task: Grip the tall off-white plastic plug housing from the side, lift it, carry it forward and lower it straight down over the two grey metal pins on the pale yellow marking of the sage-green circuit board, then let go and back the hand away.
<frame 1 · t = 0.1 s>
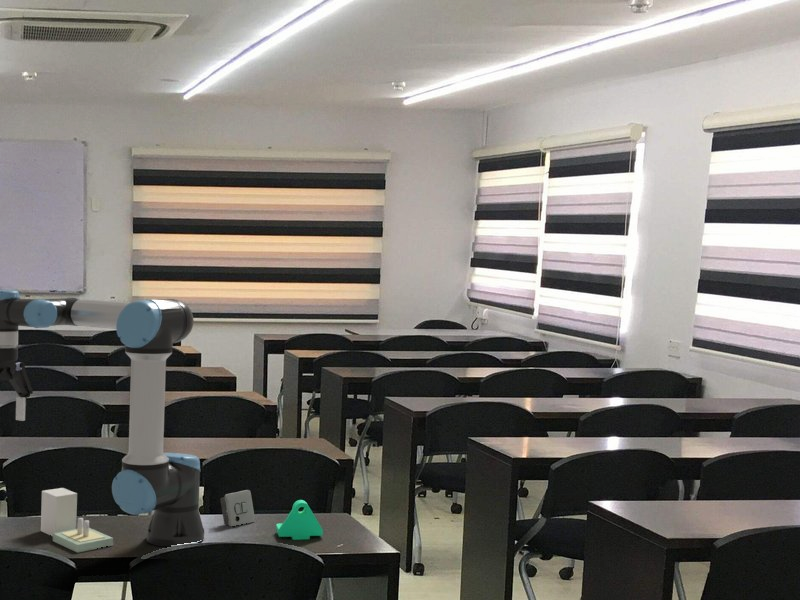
hand: (1, 423, 274), 28 cm above the table, tool pointing down, fingers open, 13 cm apart
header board: (82, 543, 261), on the table
plug housing: (58, 532, 270), on the table
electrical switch: (236, 524, 286), on the table
camera mount: (298, 536, 277), on the table
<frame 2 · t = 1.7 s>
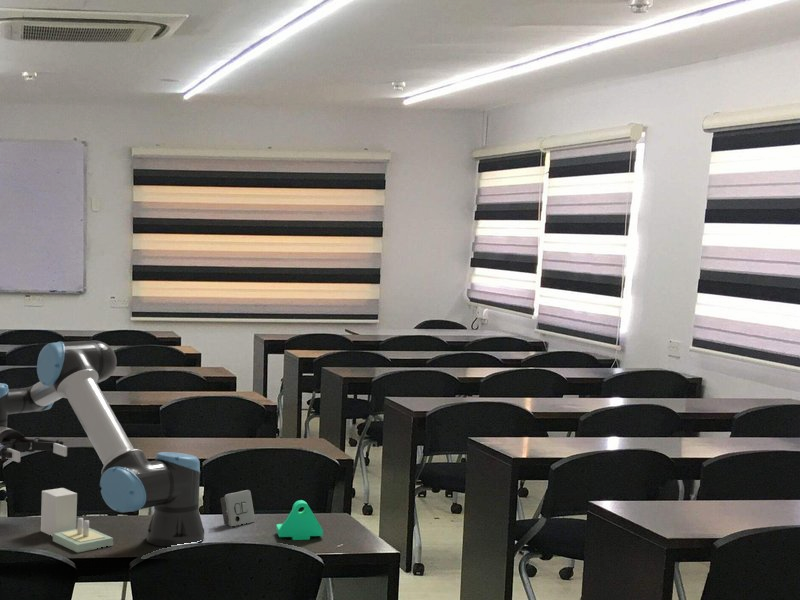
hand: (42, 454, 276), 20 cm above the table, tool horizontal, fingers open, 13 cm apart
nothing on the table moved.
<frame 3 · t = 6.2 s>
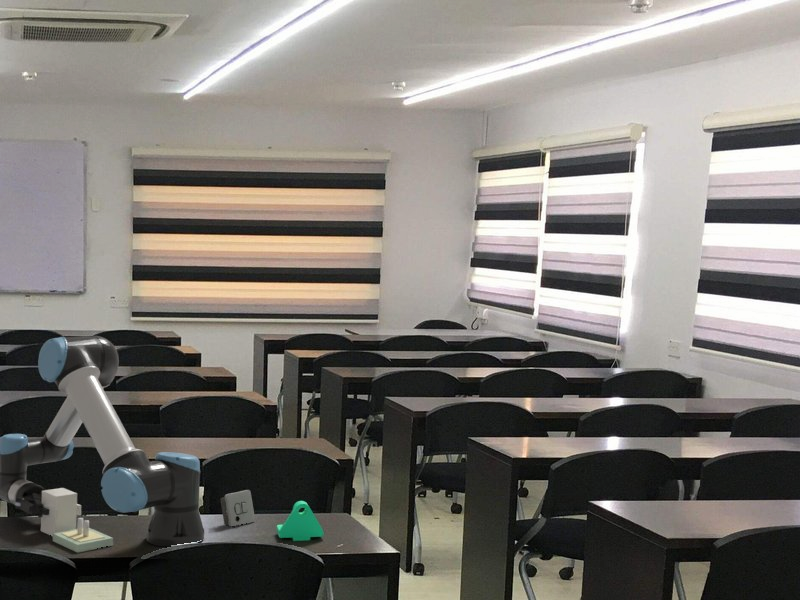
hand: (68, 512, 266), 7 cm above the table, tool horizontal, fingers closed on plug housing, 6 cm apart
plug housing: (58, 532, 270), on the table, touching gripper
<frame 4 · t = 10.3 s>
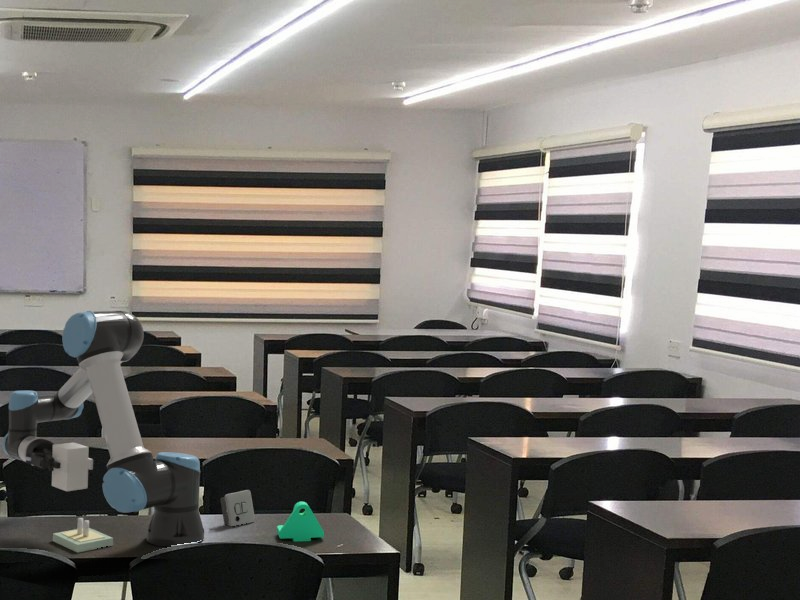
hand: (79, 466, 262), 20 cm above the table, tool horizontal, fingers closed on plug housing, 6 cm apart
plug housing: (69, 487, 265), point 13 cm above the table, touching gripper
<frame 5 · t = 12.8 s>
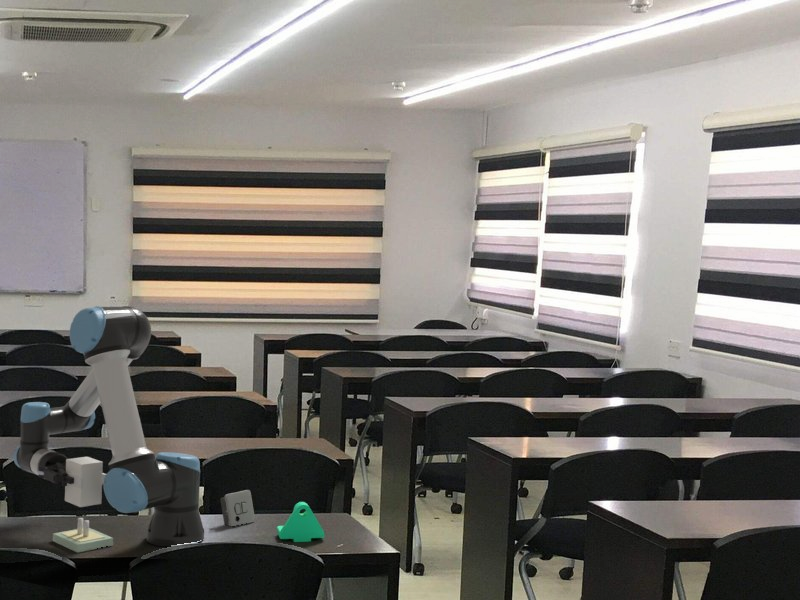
hand: (93, 481, 257), 17 cm above the table, tool horizontal, fingers closed on plug housing, 6 cm apart
plug housing: (83, 502, 261), point 11 cm above the table, touching gripper
when the fingers open (10 cm above the table, at t = 14.7 s): plug housing stays where it is, resting on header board.
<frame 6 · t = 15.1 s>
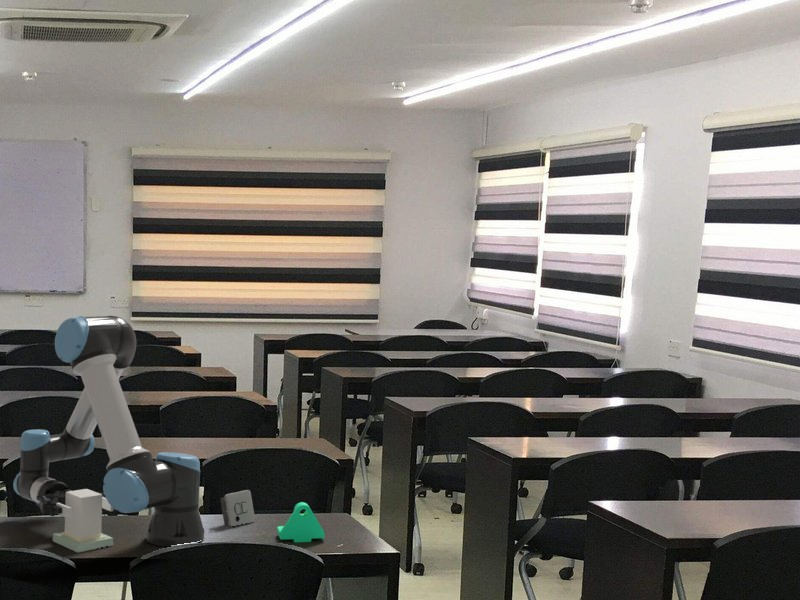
hand: (91, 509, 258), 10 cm above the table, tool horizontal, fingers open, 11 cm apart
plug housing: (82, 534, 261), point 2 cm above the table, touching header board
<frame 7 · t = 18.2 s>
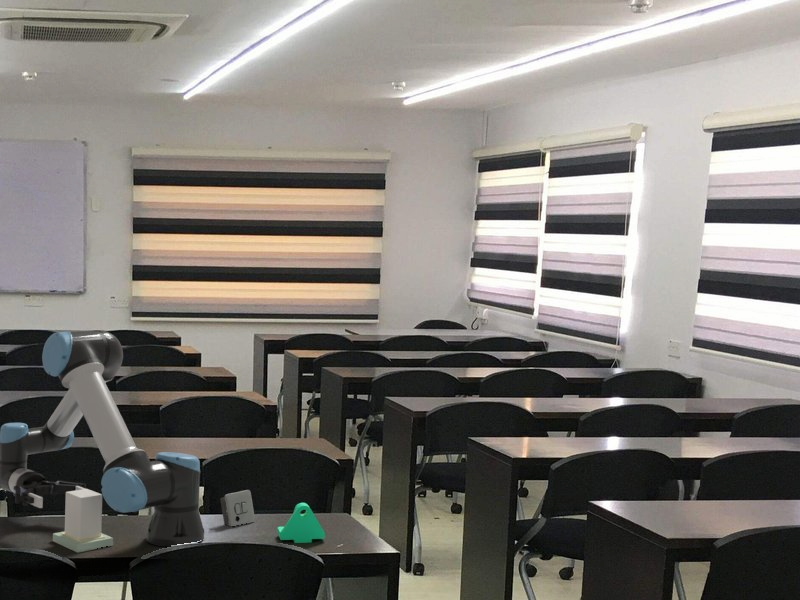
hand: (65, 499, 267), 10 cm above the table, tool horizontal, fingers open, 13 cm apart
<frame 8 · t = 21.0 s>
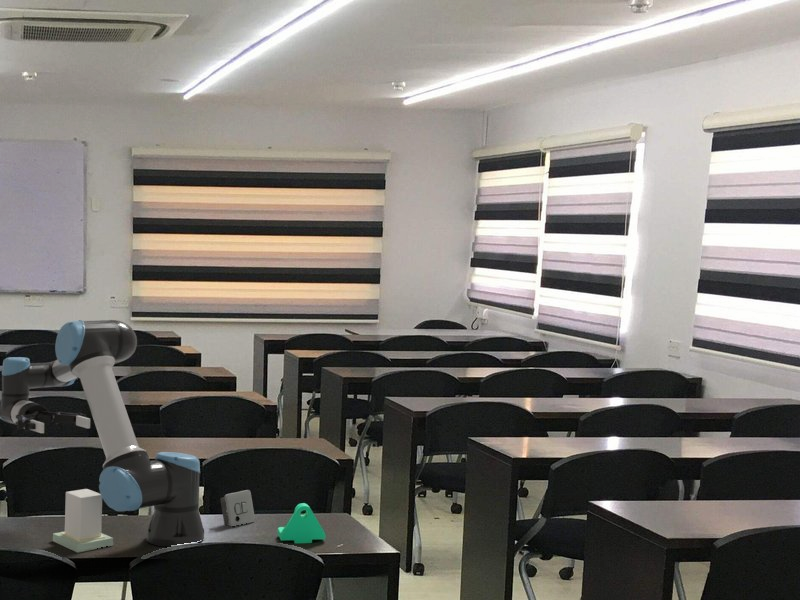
hand: (66, 425, 274), 28 cm above the table, tool horizontal, fingers open, 13 cm apart
at the end: plug housing 0.1 cm off-centre on the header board, point 2.2 cm above the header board's base; plug housing tilted 0°; the gripper is holding nothing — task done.
